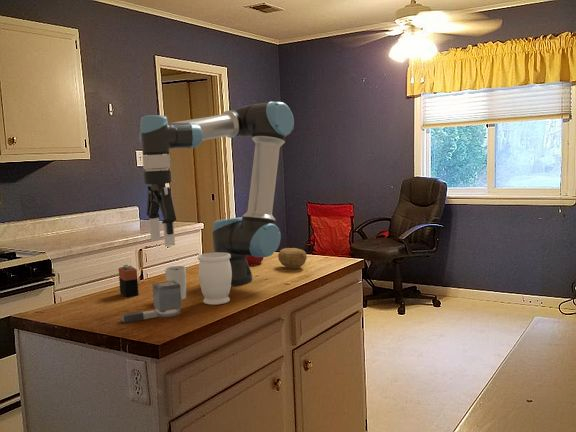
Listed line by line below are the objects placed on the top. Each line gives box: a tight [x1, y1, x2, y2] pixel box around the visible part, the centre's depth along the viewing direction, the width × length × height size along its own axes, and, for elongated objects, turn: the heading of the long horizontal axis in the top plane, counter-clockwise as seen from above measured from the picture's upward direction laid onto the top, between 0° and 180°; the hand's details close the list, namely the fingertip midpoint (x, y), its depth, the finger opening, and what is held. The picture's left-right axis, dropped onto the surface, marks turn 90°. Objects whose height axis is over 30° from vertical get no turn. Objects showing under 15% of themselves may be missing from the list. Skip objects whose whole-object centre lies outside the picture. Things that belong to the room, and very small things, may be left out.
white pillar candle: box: [164, 265, 187, 301], centre depth 179 cm, size 7×7×10 cm
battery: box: [118, 264, 139, 298], centre depth 186 cm, size 4×7×10 cm, turn 35°
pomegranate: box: [246, 255, 265, 266], centre depth 230 cm, size 10×10×9 cm
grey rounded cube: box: [151, 281, 182, 312], centre depth 161 cm, size 6×6×7 cm
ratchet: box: [121, 307, 181, 324], centre depth 159 cm, size 16×7×6 cm, turn 119°
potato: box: [277, 247, 307, 269], centre depth 219 cm, size 10×14×8 cm
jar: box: [197, 252, 232, 306], centre depth 172 cm, size 11×10×15 cm
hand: (162, 242), depth 160 cm, fingers open, 13 cm apart
